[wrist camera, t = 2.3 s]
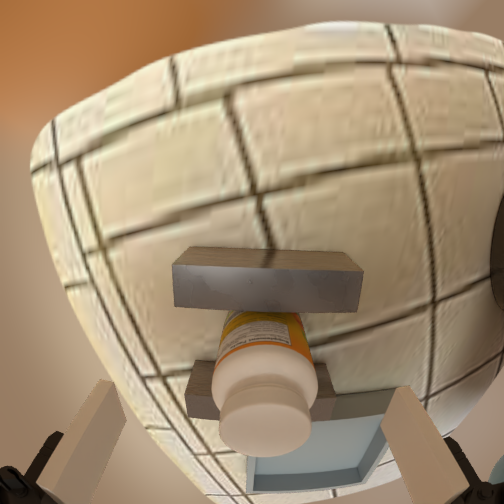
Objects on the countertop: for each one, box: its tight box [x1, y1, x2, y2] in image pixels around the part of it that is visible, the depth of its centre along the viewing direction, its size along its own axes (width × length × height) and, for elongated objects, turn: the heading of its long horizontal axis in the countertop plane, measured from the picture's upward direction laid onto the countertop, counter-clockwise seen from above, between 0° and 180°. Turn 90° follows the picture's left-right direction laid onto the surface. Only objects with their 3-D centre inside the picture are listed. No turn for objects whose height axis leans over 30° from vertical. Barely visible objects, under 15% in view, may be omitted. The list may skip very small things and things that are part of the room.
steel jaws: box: [172, 247, 364, 422], centre depth 18 cm, size 10×11×4 cm
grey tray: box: [246, 388, 396, 493], centre depth 21 cm, size 13×13×3 cm
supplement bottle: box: [212, 310, 318, 457], centre depth 15 cm, size 5×5×10 cm
